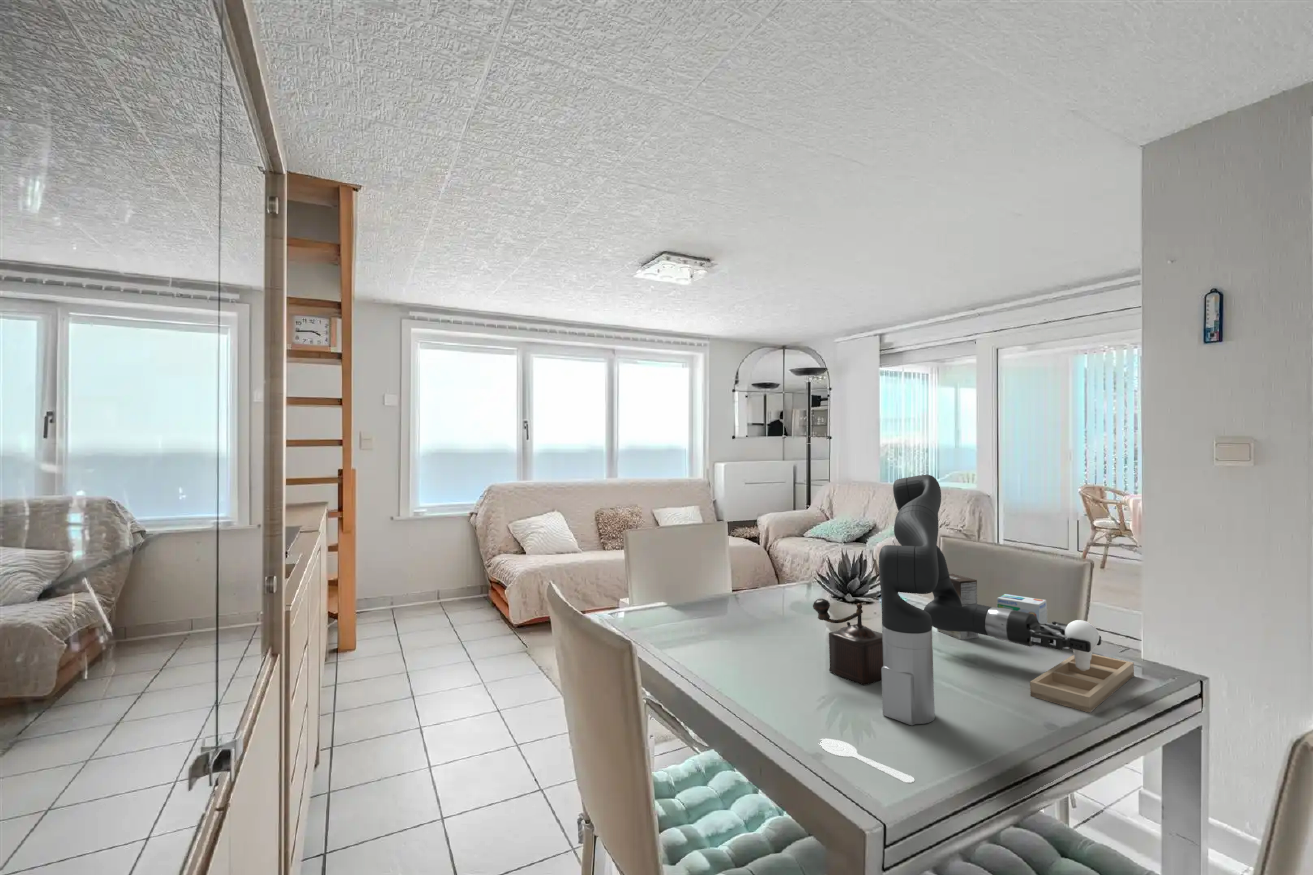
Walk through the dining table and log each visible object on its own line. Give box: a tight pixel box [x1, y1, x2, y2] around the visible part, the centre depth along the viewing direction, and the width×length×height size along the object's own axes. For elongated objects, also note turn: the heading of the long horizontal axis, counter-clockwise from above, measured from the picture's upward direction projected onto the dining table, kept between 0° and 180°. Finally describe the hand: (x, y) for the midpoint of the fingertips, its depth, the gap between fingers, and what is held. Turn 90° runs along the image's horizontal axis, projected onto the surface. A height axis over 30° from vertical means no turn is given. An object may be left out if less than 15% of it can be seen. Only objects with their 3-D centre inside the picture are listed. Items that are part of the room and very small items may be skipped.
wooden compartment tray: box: [1029, 653, 1135, 713], centre depth 130 cm, size 30×10×3 cm, turn 128°
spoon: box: [817, 737, 915, 784], centre depth 101 cm, size 5×18×1 cm, turn 37°
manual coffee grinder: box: [812, 598, 883, 686], centre depth 138 cm, size 16×11×18 cm
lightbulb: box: [1065, 619, 1100, 671], centre depth 130 cm, size 6×6×11 cm
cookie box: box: [936, 573, 979, 641], centre depth 168 cm, size 9×6×16 cm
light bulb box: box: [996, 593, 1048, 624], centre depth 163 cm, size 11×7×11 cm, turn 42°
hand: (1095, 643), depth 128 cm, fingers closed on lightbulb, 6 cm apart
